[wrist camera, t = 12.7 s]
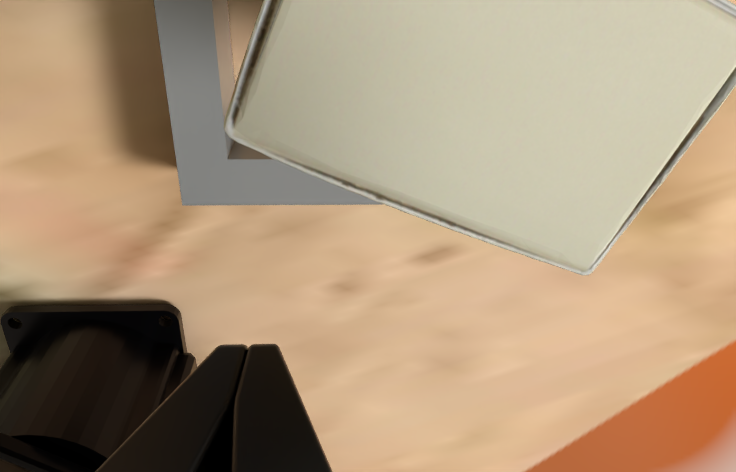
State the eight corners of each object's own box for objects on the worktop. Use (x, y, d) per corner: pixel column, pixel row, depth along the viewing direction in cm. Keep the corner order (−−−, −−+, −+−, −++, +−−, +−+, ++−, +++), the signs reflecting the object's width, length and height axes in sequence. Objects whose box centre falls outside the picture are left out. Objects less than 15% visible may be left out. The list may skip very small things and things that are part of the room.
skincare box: (271, -6, 19) (187, 134, 8) (329, -162, 17) (315, -242, 6) (460, 81, 20) (594, 295, 10) (531, -53, 19) (792, 29, 8)
